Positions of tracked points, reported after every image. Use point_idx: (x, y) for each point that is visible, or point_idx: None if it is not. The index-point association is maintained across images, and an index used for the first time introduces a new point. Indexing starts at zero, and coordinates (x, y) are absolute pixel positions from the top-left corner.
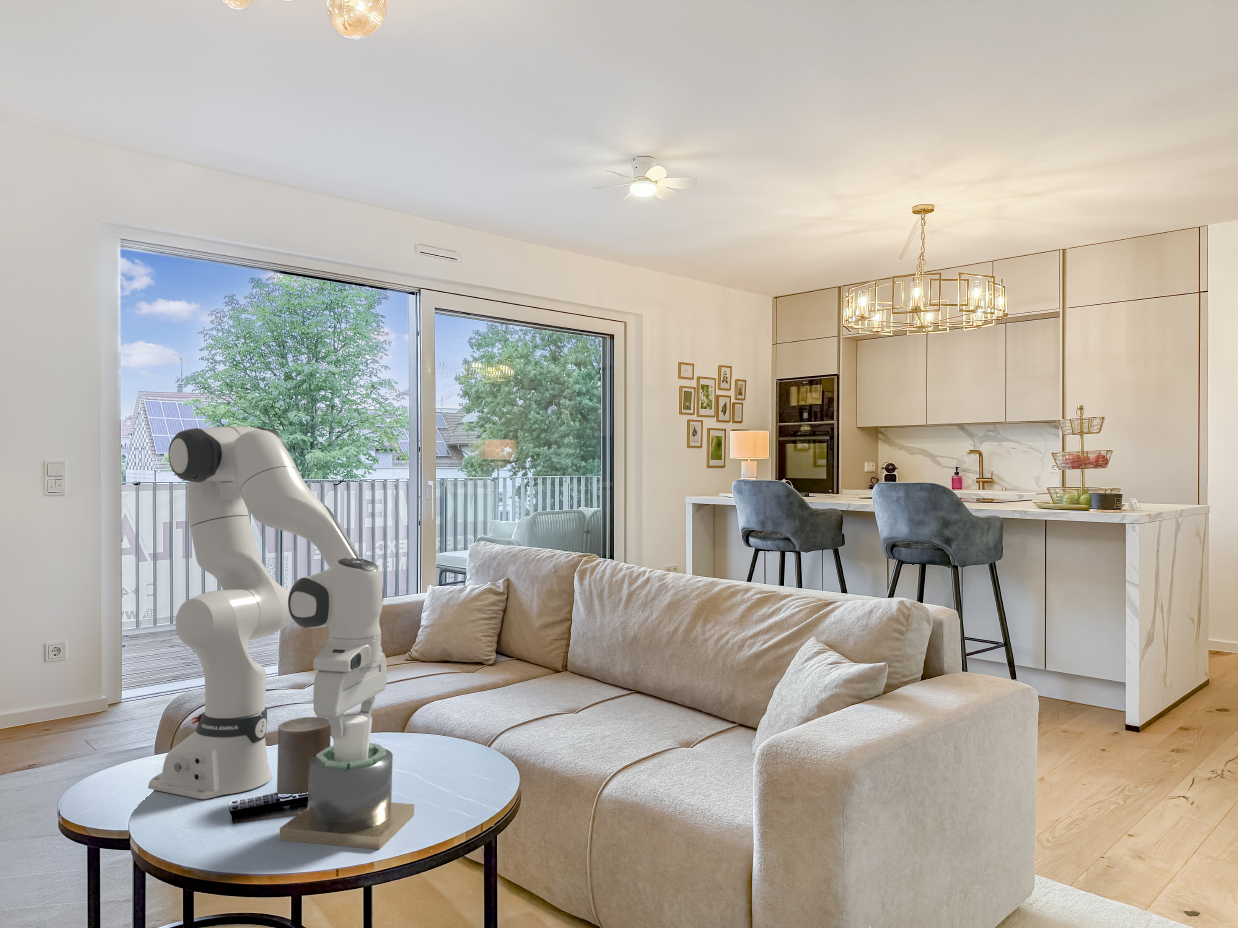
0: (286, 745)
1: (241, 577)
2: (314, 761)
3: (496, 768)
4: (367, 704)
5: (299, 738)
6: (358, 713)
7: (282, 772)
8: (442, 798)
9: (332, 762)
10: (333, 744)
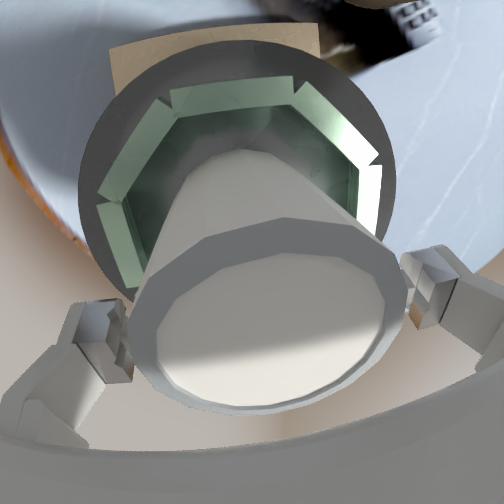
0: None
1: None
2: (150, 94)
3: (486, 253)
4: (480, 329)
5: None
6: (430, 282)
7: None
8: (391, 239)
9: (111, 232)
10: (176, 201)
